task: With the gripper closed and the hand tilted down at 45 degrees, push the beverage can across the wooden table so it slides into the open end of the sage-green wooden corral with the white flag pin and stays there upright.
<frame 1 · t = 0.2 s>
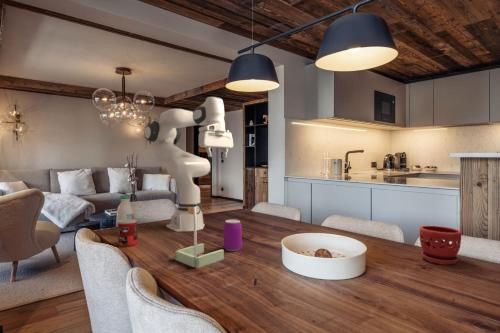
hand: (217, 157, 150), 39 cm above the table, tool pointing down, fingers open, 8 cm apart
plant pot: (439, 261, 113), on the table
beverage can: (232, 249, 130), on the table
cup corral: (198, 259, 117), on the table
canned food: (128, 245, 137), on the table
milk bottle: (126, 234, 156), on the table
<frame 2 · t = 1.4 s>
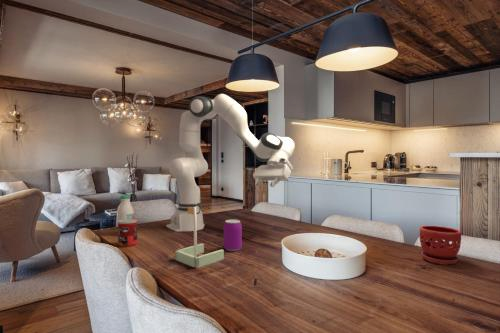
hand: (264, 186, 144), 25 cm above the table, tool tilted 45°, fingers open, 8 cm apart
nothing on the table moved.
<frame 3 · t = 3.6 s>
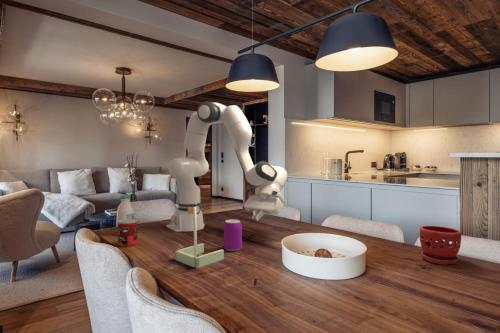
hand: (255, 219, 140), 10 cm above the table, tool tilted 45°, fingers closed
nothing on the table moved.
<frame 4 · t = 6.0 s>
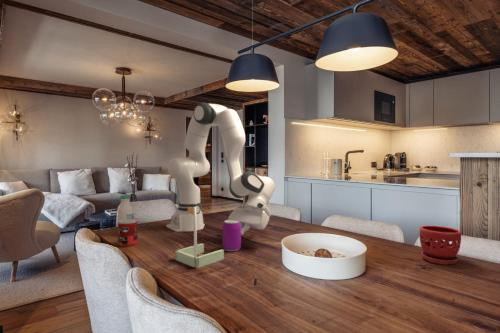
hand: (239, 233, 132), 6 cm above the table, tool tilted 45°, fingers closed, pressing on beverage can
beverage can: (232, 249, 129), on the table, touching gripper
everything else where it was.
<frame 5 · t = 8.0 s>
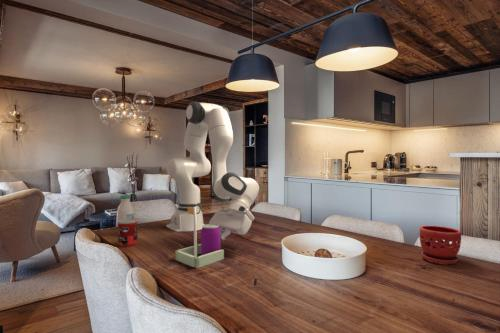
hand: (219, 238, 124), 6 cm above the table, tool tilted 45°, fingers closed, pressing on beverage can
beverage can: (211, 256, 121), on the table, touching gripper
everything else where it was.
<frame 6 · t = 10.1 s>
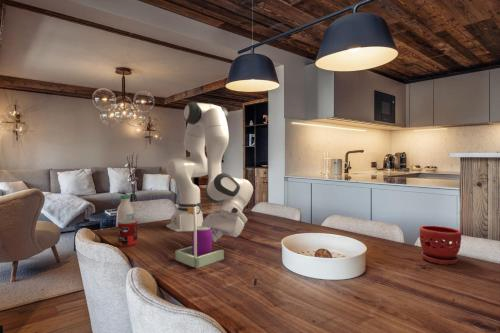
hand: (211, 240, 121), 6 cm above the table, tool tilted 45°, fingers closed
beverage can: (202, 258, 118), on the table
everything else where it was.
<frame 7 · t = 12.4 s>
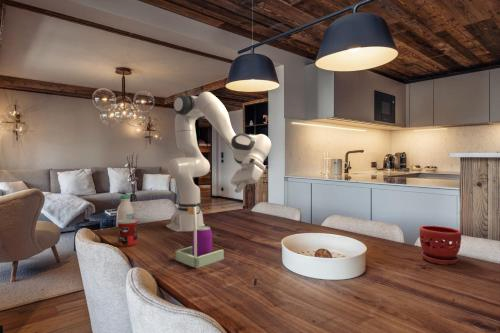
hand: (237, 191, 133), 24 cm above the table, tool tilted 35°, fingers closed
nothing on the table moved.
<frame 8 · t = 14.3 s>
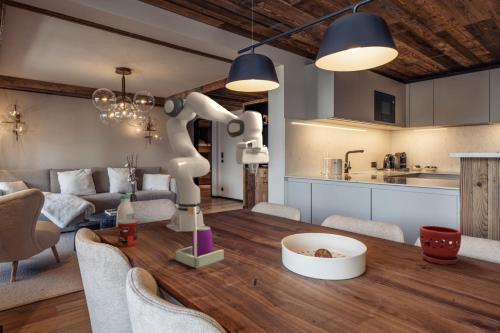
hand: (253, 173, 148), 31 cm above the table, tool pointing down, fingers closed
nothing on the table moved.
at the end: beverage can inside the target area (0.7 cm from its centre), on the table; beverage can tilted 0° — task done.
